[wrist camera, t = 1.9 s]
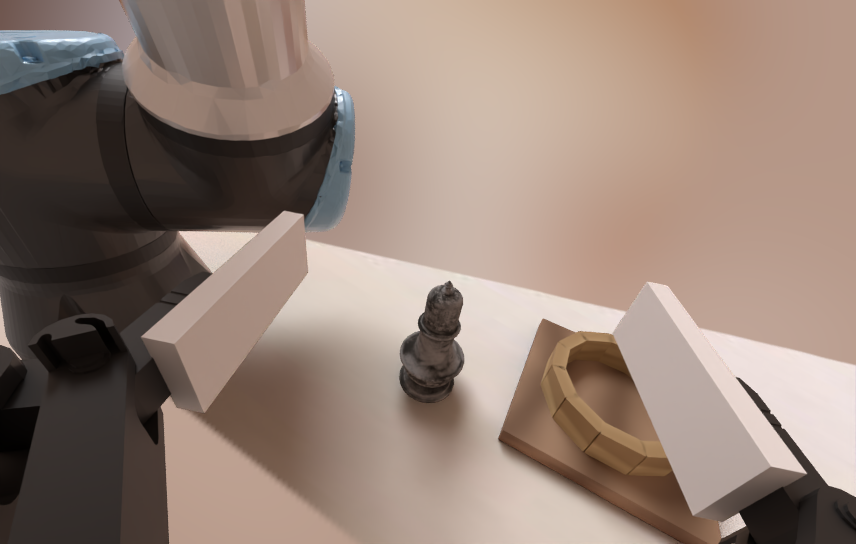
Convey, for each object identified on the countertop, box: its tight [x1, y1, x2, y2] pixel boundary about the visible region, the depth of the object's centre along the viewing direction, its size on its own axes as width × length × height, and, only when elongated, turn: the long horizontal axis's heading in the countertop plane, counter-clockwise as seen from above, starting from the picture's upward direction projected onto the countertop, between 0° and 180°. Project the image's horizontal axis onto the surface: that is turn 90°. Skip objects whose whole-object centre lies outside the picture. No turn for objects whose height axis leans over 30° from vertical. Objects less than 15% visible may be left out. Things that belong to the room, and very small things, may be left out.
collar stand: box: [498, 319, 721, 544], centre depth 31 cm, size 16×16×4 cm
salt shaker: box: [399, 281, 464, 403], centre depth 29 cm, size 6×6×12 cm
